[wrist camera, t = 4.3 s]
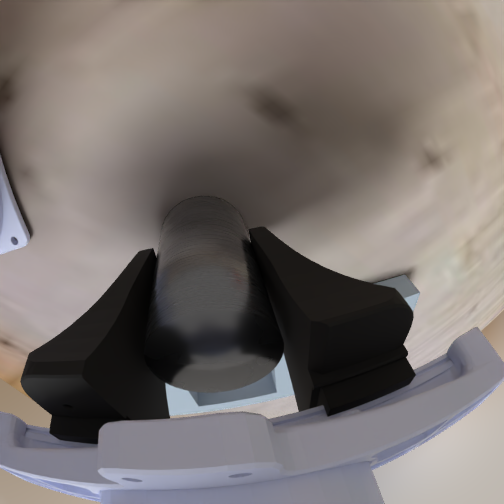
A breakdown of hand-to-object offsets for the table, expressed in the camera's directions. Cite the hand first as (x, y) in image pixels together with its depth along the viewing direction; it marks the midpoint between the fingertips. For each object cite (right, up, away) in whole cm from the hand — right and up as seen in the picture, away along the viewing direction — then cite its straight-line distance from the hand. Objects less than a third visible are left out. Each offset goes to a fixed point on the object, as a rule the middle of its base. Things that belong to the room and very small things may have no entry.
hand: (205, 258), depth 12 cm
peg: (0, +1, +2) cm, 2 cm away
